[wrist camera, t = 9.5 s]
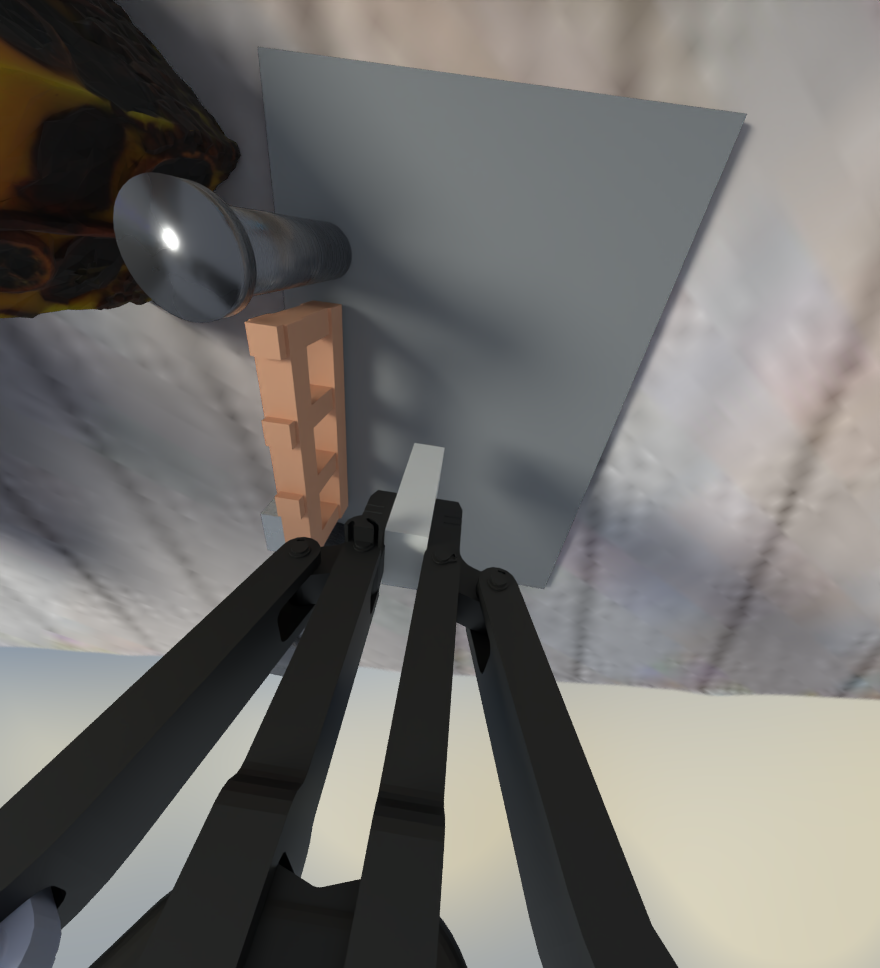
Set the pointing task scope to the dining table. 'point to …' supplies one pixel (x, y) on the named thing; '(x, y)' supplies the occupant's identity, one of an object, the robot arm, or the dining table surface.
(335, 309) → the gate
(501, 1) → the dining table surface
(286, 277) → the glossy grey waisted cylinder
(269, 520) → the latch post
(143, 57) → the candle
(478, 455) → the mat
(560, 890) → the robot arm
